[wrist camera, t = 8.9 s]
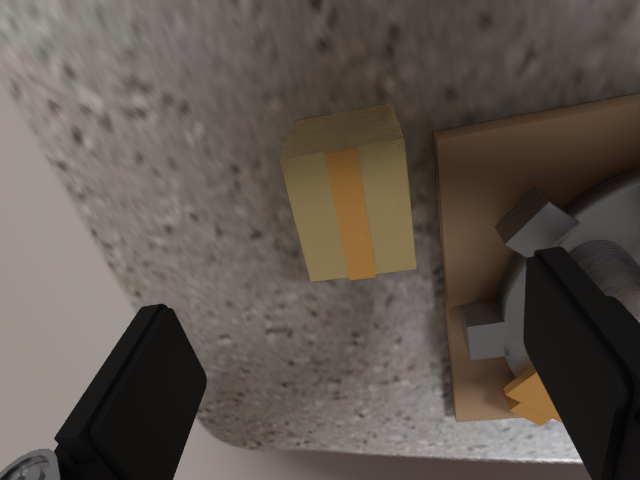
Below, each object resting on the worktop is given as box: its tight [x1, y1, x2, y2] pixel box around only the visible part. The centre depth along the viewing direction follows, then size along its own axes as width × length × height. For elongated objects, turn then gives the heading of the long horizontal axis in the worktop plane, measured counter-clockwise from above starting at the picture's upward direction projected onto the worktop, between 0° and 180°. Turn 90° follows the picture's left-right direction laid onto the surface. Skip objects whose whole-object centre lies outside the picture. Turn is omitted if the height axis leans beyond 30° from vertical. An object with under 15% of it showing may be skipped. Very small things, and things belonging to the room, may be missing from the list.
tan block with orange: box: [279, 103, 417, 282], centre depth 16 cm, size 5×4×5 cm
